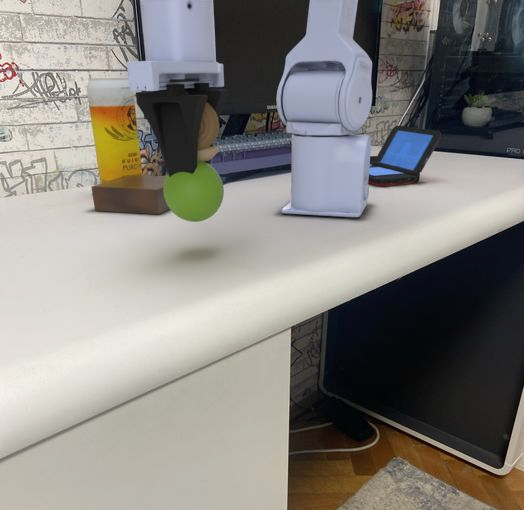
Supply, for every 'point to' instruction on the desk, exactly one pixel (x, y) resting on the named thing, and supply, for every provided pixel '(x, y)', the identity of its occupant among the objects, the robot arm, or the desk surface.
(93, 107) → the glass of beer
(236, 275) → the desk surface
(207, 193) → the snail figurine
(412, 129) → the handheld console
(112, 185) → the walnut block
